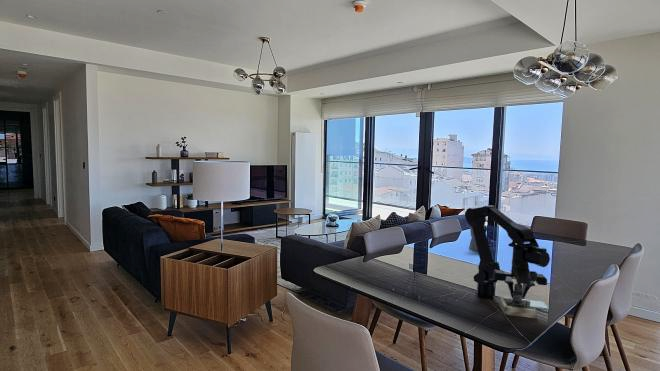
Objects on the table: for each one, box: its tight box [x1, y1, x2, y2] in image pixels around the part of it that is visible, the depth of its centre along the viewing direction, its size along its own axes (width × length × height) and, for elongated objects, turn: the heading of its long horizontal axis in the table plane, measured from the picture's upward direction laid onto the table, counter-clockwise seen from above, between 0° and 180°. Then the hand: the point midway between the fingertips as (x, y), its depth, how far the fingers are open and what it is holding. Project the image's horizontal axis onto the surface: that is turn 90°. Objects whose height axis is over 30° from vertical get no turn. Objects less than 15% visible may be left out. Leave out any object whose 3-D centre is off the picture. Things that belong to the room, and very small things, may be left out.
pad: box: [528, 299, 550, 310], centre depth 154 cm, size 7×7×1 cm
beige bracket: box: [497, 296, 538, 319], centre depth 148 cm, size 11×11×3 cm
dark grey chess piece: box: [509, 282, 526, 308], centre depth 148 cm, size 6×6×12 cm
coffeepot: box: [468, 225, 488, 252], centre depth 247 cm, size 15×9×18 cm, turn 118°
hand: (517, 298), depth 148 cm, fingers closed on dark grey chess piece, 3 cm apart
